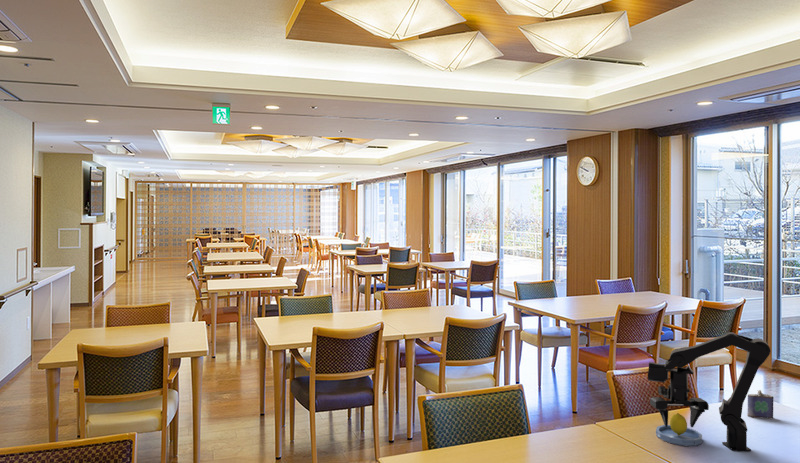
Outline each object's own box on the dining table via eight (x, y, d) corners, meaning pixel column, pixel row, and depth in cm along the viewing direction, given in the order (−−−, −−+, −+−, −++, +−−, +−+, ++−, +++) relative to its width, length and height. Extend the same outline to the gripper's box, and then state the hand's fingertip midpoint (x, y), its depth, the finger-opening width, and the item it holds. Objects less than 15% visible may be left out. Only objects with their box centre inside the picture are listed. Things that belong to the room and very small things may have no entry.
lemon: (683, 432, 196) (682, 411, 196) (690, 438, 190) (689, 415, 190) (667, 432, 196) (667, 410, 196) (674, 437, 191) (673, 415, 191)
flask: (748, 417, 215) (748, 390, 215) (745, 414, 218) (746, 388, 218) (774, 419, 213) (774, 392, 213) (771, 416, 216) (771, 390, 216)
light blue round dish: (710, 446, 185) (710, 440, 185) (667, 445, 186) (667, 439, 186) (689, 430, 200) (689, 425, 200) (649, 429, 201) (649, 424, 201)
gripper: (693, 378, 201) (693, 419, 201) (643, 377, 202) (643, 418, 201) (709, 387, 190) (709, 430, 190) (656, 386, 190) (656, 429, 190)
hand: (678, 426), depth 193 cm, fingers open, 9 cm apart
